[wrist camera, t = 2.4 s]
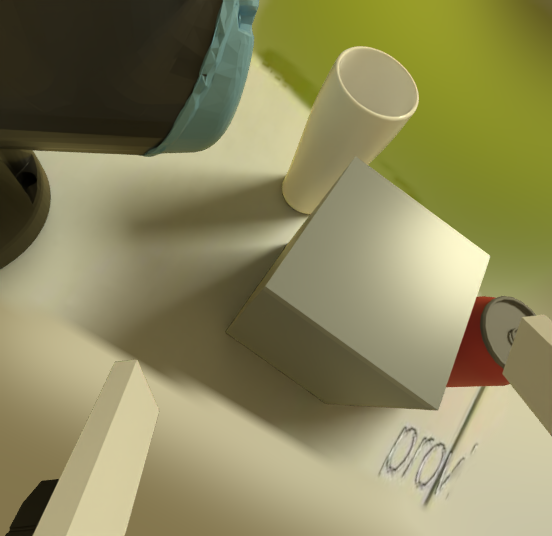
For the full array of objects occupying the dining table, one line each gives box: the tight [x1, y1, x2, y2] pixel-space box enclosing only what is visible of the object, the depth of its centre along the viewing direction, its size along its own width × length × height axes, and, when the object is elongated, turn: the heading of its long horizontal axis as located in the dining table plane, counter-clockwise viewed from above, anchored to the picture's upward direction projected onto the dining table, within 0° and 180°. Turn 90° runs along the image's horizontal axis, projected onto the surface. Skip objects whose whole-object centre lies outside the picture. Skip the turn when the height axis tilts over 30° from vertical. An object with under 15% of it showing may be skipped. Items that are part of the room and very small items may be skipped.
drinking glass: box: [282, 47, 419, 214], centre depth 31 cm, size 7×7×15 cm
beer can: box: [446, 296, 536, 387], centre depth 29 cm, size 7×7×12 cm
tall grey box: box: [226, 156, 490, 410], centre depth 26 cm, size 11×11×14 cm
